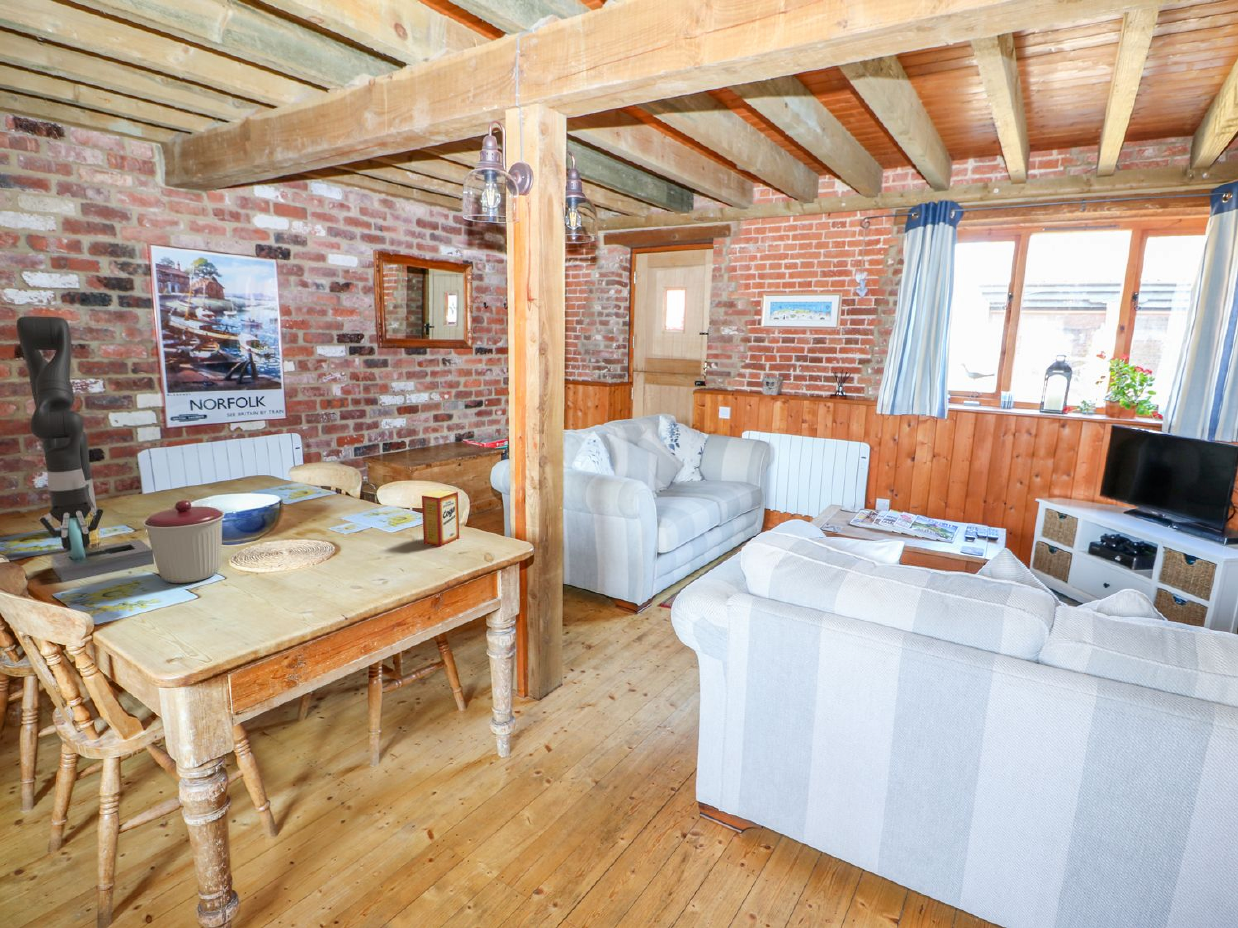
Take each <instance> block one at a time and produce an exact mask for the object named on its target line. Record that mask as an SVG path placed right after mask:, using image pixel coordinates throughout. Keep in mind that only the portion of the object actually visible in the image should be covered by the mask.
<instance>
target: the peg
mask: <svg viewBox="0 0 1238 928" xmlns="http://www.w3.org/2000/svg"><path fill="white" fill-rule="evenodd" d="M67 536H68V537H69V542H70V549H71V550H69V552H70V554H71V560H75V559H81V558H86V557H85V550H84V544H83V537H82V530H81V526H80V524H79V521H78V518H77V517H76V518H70V519H69V525H68V533H67Z"/></svg>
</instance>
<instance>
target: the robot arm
mask: <svg viewBox="0 0 1238 928" xmlns="http://www.w3.org/2000/svg"><path fill="white" fill-rule="evenodd" d="M16 334H17V337H18V341H19V344H20V346H21V350H22V353H23V356H24V360H25V363H26V366H27V371H28V376H29V377H28V378H29V383H30V388H31V393H32V394H31V395H32V398H33V403H34V406H35V409H34V412H33V414H32V416H31V419H30V423H29V424H30V425H29V428H30V431H31V433H32V435H34V437H36V439H37V438H38V439H40V440H41V443H42V449H43V453H44V459H45V461H44V462H45V466H46V473H47V476H46V480H47V487H48V492H49V493H48V494H49V499H50V507H51V508H50V511H49V513H47V514H45V515H40V516H39V517H38V521H39V522H40V523H41V524H42V525H43V526H44V528H45V529H46V530H47V531H48V532H49V533H50V534H51V535H52V536H53V538H56V537H58V538H60V541H61V546H62V548H63V550H64V549H65V550H66V551H67V552H69V551H70V550H71V549H70V542H69V537H68V535H67V533H68V525H69V519H70V518H76V517H77V518H78V521H79V524H80V526H81V530H82V537H83V544H84V547H87V545H89V544H90V539H89V532H91V531H93V530H96V529H97V526H98V530H100V524H99V523H100V522H101V518H102V516H103V513H104V510H103V509H102V508H101V507H97V504H96V497H95V490H94V489H95V488H94V483H93V477H92V471H91V470H92V469H91V463H90V452H89V442H88V436H87V433H86V432H85V431H84V427H85V420H84V417H83V416H82V415H81V414H80V413H79V412H77V411H74V410H72V408H73V406H74V404H75V395H74V390H73V384H72V381H71V380H70V379H71V378H70V377H71V364H72V333H71V329H70V325H69V323H68V321H67V319H66V318H63V317H59V316H58V317H57V316H37V315H35V316H34V315H33V316H32V315H30V316H29V315H28V316H27V315H25V316H20V317H18V318H17V320H16ZM40 351H55V353H54V355H53V356H52V358H51V360H49V361H48V360H47V359H46V358H45V357H44V356H43V354H42V353H41V352H40ZM86 483H88V484H89V496H90V499H91V501H92V503H93V505H94V507H95V508H93V507H91V506H90V505H89V503H88V498H87V492H86V485H85V484H86ZM90 511H91V512H92V515H93V518H92V521H91V523H90V526H88V527H87V526H86V523H85V520H84V519H85V518H86V516H87V515H88V514H89V512H90ZM52 517H53V518H54V519H55V520H56V521H58V522H59V527H60V528H59V530H56V529H55V528H54V527H53V526H52V525H51V523H52Z"/></svg>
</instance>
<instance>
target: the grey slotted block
mask: <svg viewBox="0 0 1238 928" xmlns="http://www.w3.org/2000/svg"><path fill="white" fill-rule="evenodd" d="M84 550H85V557H86V558H81V559H75V560H71V554H70V551H67V552H60V553H56V554H55V553H54V554H51V555H50V557H51V558H50V559H51V565H52V570H53V571H54V572H55V574H56V575H57V576H58V578H59V580H60V581H61V582H62V583H67V582H70V581H76V580H80V579H86V578H90V577H95V576H100V575H104V574H108V573H113V572H114V573H115V572H119V571H123V570H128V569H133V568H137V567H143V566H148V565H154V564H155V558H154V555H153V551H152V547H151V546H150V547H149V546H148V545H147V544H146V543H145V542H144V541H142V540H141V539H139V538H138V539H133V540H127V541H122V542H116V543H112V544H111V543H110V544H105V545H99V547H93V548H88V549H84Z"/></svg>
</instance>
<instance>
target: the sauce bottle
mask: <svg viewBox="0 0 1238 928" xmlns="http://www.w3.org/2000/svg"><path fill="white" fill-rule="evenodd" d="M85 485H86V492H87V498H88V503H89V505H90V506H91V507H93V508H95V507H94V505H93V503H92V501H91V499H90V496H89V484H88V483H86V484H85ZM92 518H93V515H92V512H91V511H90V512H89V514H88V515H87V516H86V518H85V519H84V520H85V523H86V526H87V527H88V526H90V523H91V521H92ZM99 530H100V529H99ZM99 530H98V526H97V529H96V530H93V531H91V532H89V539H90V544H89V545H87V547H84V549H88V548H93V547H99V546H101V545H100V542H101V541H100V539H101V538H100V533H99Z"/></svg>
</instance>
